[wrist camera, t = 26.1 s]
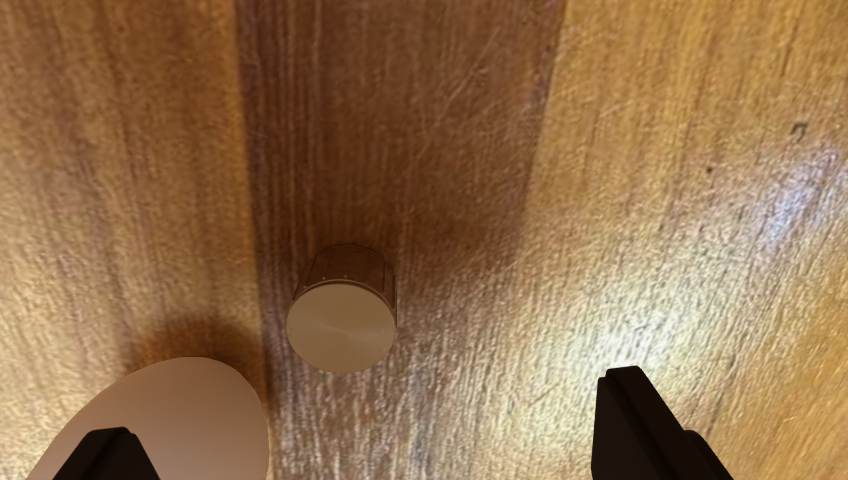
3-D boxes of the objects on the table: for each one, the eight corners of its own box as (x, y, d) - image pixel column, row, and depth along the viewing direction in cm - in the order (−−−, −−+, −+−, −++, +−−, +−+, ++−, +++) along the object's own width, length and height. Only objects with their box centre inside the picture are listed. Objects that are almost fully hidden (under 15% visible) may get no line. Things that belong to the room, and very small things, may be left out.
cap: (310, 327, 21) (296, 378, 18) (293, 247, 19) (274, 288, 16) (400, 320, 21) (400, 369, 18) (391, 239, 19) (390, 278, 16)
